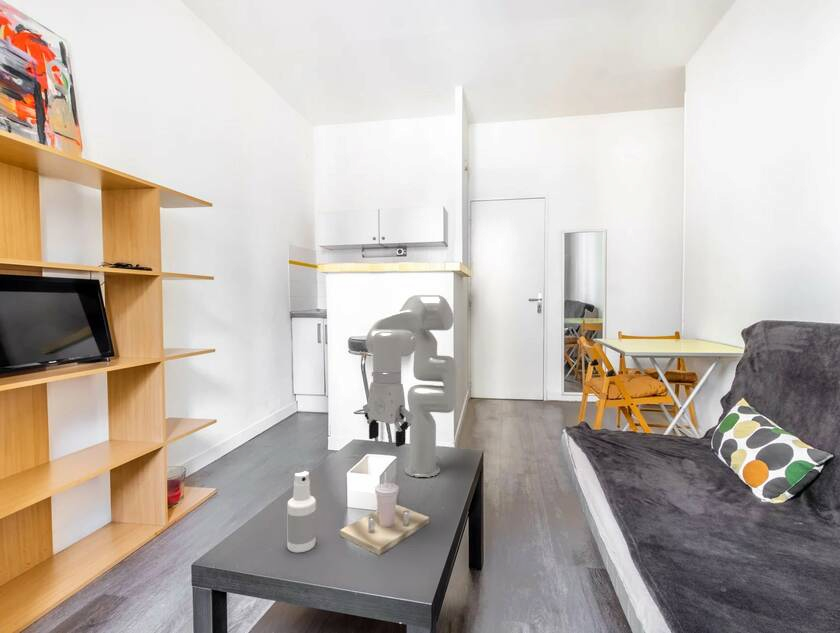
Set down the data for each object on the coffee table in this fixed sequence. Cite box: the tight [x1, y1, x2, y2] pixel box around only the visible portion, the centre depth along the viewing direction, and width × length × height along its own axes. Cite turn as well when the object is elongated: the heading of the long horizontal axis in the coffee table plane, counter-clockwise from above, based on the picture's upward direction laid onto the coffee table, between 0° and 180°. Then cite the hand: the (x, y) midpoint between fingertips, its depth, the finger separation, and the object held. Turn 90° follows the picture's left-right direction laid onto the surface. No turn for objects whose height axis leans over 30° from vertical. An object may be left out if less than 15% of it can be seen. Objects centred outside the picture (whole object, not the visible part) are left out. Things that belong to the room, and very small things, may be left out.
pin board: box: [339, 504, 430, 556], centre depth 112 cm, size 20×14×5 cm
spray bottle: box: [286, 470, 317, 554], centre depth 104 cm, size 7×7×18 cm
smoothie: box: [374, 471, 400, 527], centre depth 112 cm, size 6×6×14 cm
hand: (386, 441), depth 112 cm, fingers open, 9 cm apart
